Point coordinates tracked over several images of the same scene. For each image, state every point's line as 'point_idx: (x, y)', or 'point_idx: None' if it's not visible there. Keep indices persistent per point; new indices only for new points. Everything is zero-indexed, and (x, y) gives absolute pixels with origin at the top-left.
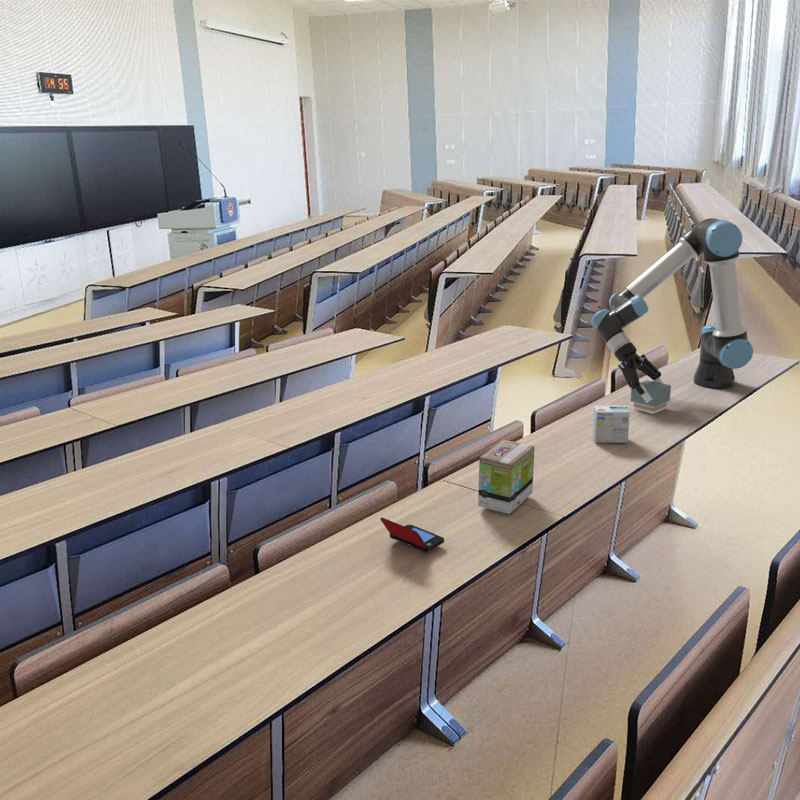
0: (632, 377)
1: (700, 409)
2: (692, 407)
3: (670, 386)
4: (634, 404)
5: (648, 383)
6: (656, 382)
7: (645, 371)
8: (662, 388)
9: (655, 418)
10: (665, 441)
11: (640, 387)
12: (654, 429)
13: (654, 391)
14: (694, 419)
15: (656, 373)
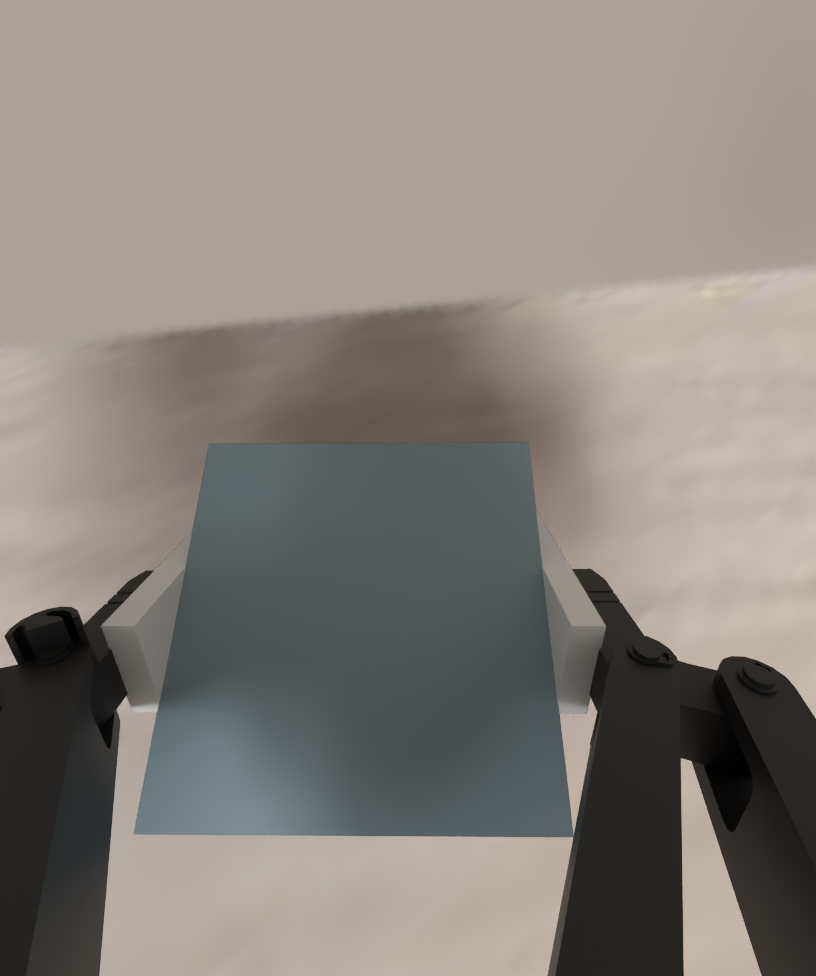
0: (806, 794)
1: (168, 403)
2: (157, 450)
3: (223, 449)
4: None
5: (294, 696)
6: (187, 636)
7: (82, 924)
8: (382, 443)
9: None
10: (736, 297)
11: (604, 620)
12: (662, 407)
13: (529, 454)
14: (353, 349)
15: (16, 697)
